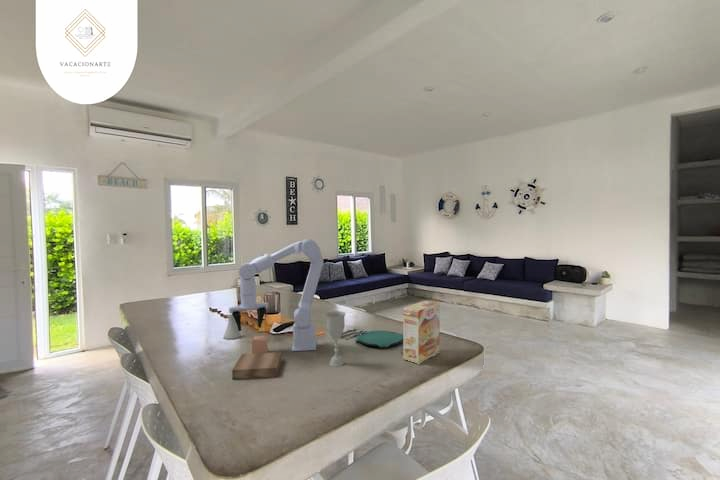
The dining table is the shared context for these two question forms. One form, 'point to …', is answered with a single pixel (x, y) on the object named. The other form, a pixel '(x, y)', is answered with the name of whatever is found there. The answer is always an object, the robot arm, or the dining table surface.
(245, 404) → the dining table surface
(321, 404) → the dining table surface
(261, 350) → the terracotta block
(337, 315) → the chalice
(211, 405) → the dining table surface
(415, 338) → the coffeecake box
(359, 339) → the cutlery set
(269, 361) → the walnut base
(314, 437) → the dining table surface
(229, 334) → the flask
